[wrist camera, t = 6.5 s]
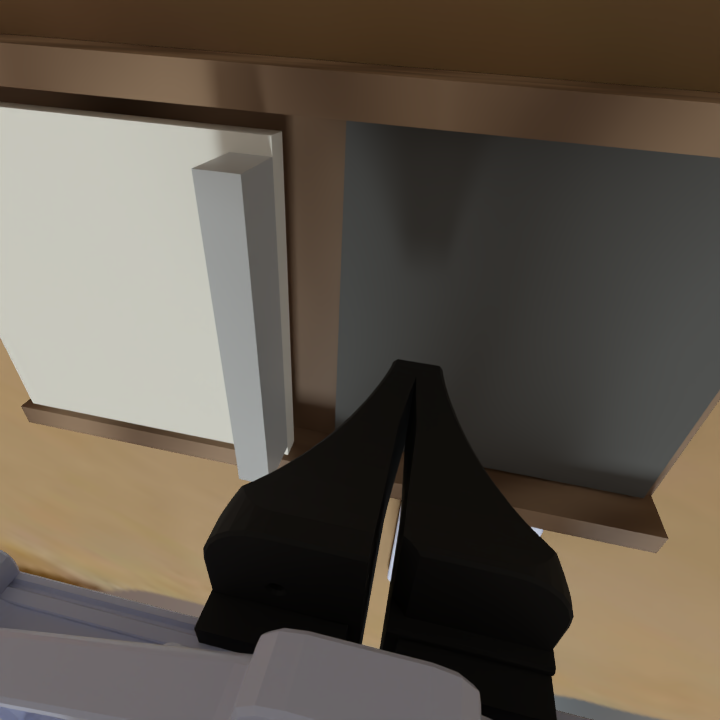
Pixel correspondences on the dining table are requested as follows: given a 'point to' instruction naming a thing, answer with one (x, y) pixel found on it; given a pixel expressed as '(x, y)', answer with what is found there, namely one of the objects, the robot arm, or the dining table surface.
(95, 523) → the dining table surface
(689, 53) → the dining table surface
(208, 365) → the sliding door
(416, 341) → the panel
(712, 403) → the tray
